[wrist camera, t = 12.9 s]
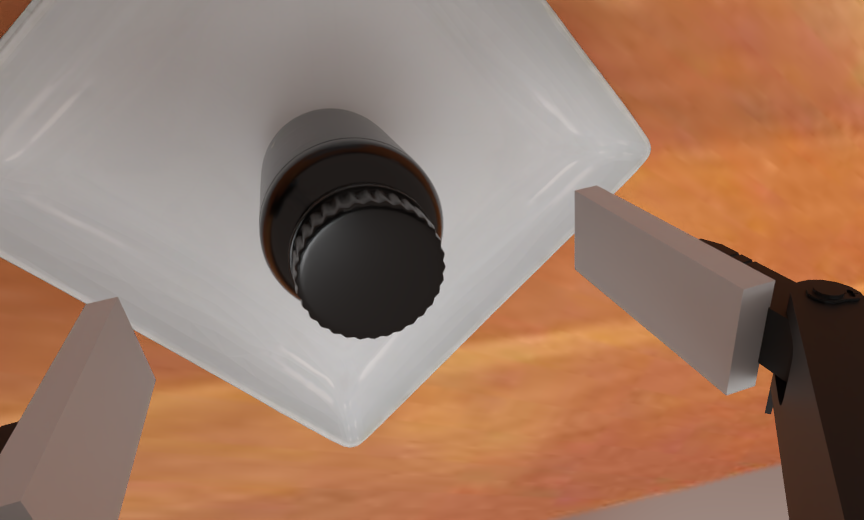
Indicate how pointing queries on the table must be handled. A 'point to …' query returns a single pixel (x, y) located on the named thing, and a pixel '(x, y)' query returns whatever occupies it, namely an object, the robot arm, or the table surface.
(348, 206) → the supplement bottle
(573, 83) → the square plate
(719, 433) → the table surface
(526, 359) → the table surface
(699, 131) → the table surface
